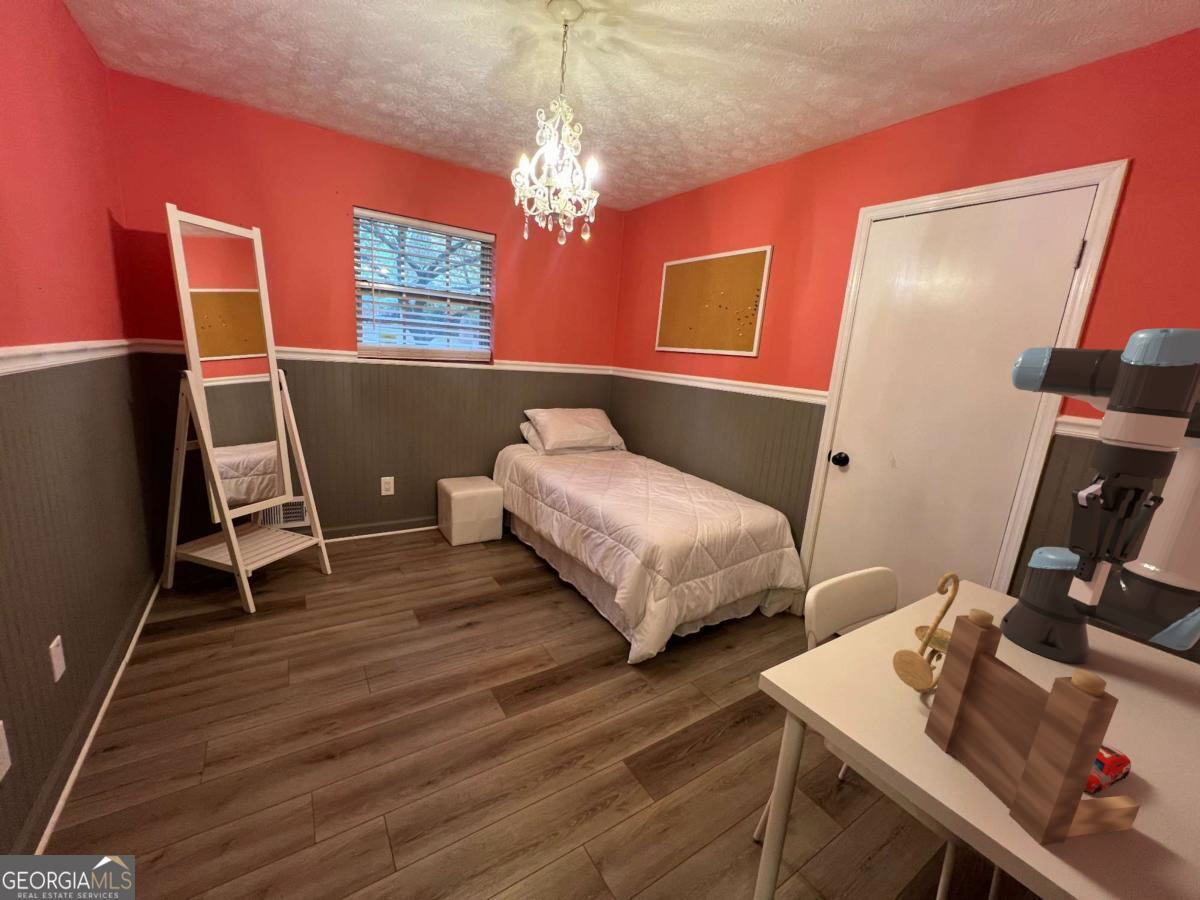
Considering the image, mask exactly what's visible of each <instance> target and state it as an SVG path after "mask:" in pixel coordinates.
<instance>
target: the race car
mask: <svg viewBox="0 0 1200 900" xmlns="http://www.w3.org/2000/svg"><path fill="white" fill-rule="evenodd" d="M1131 762H1132V761H1131V760H1130V758H1129V757H1128V756H1127V755H1126V754H1125V753H1123V752H1121V751H1120V750H1119V749H1117V748H1115V747H1113V746H1111V745H1110V744H1108V743H1106V742H1104V741H1103V742H1102V745H1101V747H1100V750H1099V753H1098V755H1097V758H1096V761H1095V763H1094V766H1093V768H1092V771H1091V774H1090V776H1089V779H1088V782H1087V784H1086V787H1085V790H1084V791H1086V792H1088V793H1091V794H1093V795H1096V794H1097V793H1100V791H1103V790H1106V789H1107V788H1109V787H1111V786H1114V785H1115V784H1117V783H1119V782H1122V781H1123V780H1126V778H1127V777H1128V776H1129V775H1130V772H1131V768H1132V766H1131V765H1132V763H1131Z"/></svg>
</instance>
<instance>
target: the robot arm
mask: <svg viewBox="0 0 1200 900" xmlns="http://www.w3.org/2000/svg"><path fill="white" fill-rule="evenodd" d="M1011 381H1012V384H1013V386H1014V387H1015V389H1018V390H1021V391H1027V392H1028V391H1029V392H1032V393H1046V394H1054V395H1058V396H1061V397H1068V398H1071V399H1075V400H1078V401H1082V402H1086V403H1088V404H1089V405H1090V407H1093V408H1094V409H1095V410H1098V411H1100V412H1103V413H1104V416H1103V417H1102V420H1101V424H1100V428H1099V430H1098V434H1097V437H1098V438H1099V439H1102V441H1097V442H1096V443H1094V444H1093V448H1092V451H1091V454H1090V457H1089V460H1088V466H1090V467H1092V468H1093V469H1096V473H1095V475H1094V477H1092V478H1091V480H1090V482H1089V483H1090V484H1089V487H1087V488H1085V489H1084V490H1083V489H1079V488H1074V489H1073V490H1072V491H1071V498H1072V503H1073V509H1072V516H1071V526H1070V533H1069V534H1070V535H1069V541H1068V548H1067V547H1060V546H1043V547H1037V549H1035V550H1034V551H1033V552H1032V556H1031V558H1030V560H1029V562H1028V563H1027V569H1026V572H1025V576H1024V579H1023V582H1022V586H1021V590H1020V593H1019V597H1018V599H1017V601H1016V603H1015V604H1014V605H1013V606H1012V607H1011V608H1010V609H1009V611H1008V612H1007V613H1005V615H1004V616H1003V617H1002V618H1001V621H1000V624H999V626H998V628H1000V629H1002V630H1003V632H1002V635H1004V636H1005V638H1007V639H1009V640H1010V641H1011V642H1013V643H1014V644H1016V645H1018V646H1020V647H1021V648H1024V649H1025V650H1028V651H1030V652H1032V653H1034V654H1037V655H1039V656H1042V657H1045V658H1048V659H1052V660H1054V661H1059V662H1063V663H1068V664H1084V663H1086V662H1087V660H1088V658H1089V655H1090V651H1091V649H1090V645H1089V644H1090V643H1089V636H1088V630H1087V629H1088V628H1087V624H1088V621H1089V618H1091V619H1093V620H1096V621H1098V622H1101V623H1103V624H1106V625H1109V626H1111V627H1114V628H1117V629H1119V630H1121V631H1124V632H1126V633H1129V634H1132V635H1134V636H1137V637H1139V638H1142V639H1145V640H1147V642H1149V643H1156V644H1158V645H1161V646H1163V647H1167V648H1170V649H1171V650H1172V649H1173V650H1176V651H1186V650H1187V651H1188V649H1191V648H1192V647H1193V646H1194V645H1195V644H1196V643H1197V642H1198V640H1199V639H1200V329H1199V328H1178V327H1177V328H1172V327H1171V328H1167V327H1166V328H1165V327H1164V328H1163V327H1162V328H1161V327H1160V328H1145V329H1140V330H1137V331H1135V332H1133V333H1132V335H1130V337H1129V338H1128V342H1127V343H1126V346H1125V348H1124V349H1119V348H1118V349H1116V348H1113V349H1112V348H1108V349H1101V348H1099V349H1097V348H1074V347H1053V346H1047V347H1028V348H1026V349H1024V350H1023V351H1022V352H1020V354H1019V355H1018V357H1016V359H1015V362H1014V365H1013V368H1012V372H1011ZM1173 449H1177V453H1175V452H1174V451H1172V450H1173ZM1154 479H1155V480H1163V479H1167V480H1166V482H1165V484H1164V487H1163V489H1162V492H1161V495H1160V496H1158V495H1155V494H1154V493H1153V489H1154ZM1151 518H1152V519H1151ZM1150 519H1151V521H1150ZM1149 521H1150V524H1149V527H1148V530H1147V531H1146V534H1145V537H1144V540H1143V543H1142V545H1141V549H1140V550H1139V553H1138V556H1137V558H1136V559H1135V560H1131V561H1128V562H1126V561H1124V560H1127V559H1128V558H1129V557H1130V555H1131V553H1132V551H1133V550H1134V549H1135V546H1136V544H1137V543H1138V541H1139V539H1140V537H1141V536H1142V533H1143V532H1144V530H1145V529H1146V527H1147V525H1148V523H1149ZM1121 559H1124V560H1121ZM1112 564H1114V565H1118V566H1122V567H1121V569H1120V570H1119V569H1116V568H1113V567H1112V566H1113V565H1112Z"/></svg>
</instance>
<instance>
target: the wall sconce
mask: <svg viewBox="0 0 1200 900" xmlns="http://www.w3.org/2000/svg"><path fill="white" fill-rule="evenodd" d="M951 579H952V584H951V585H952V586H951V589H950V592H949V587H947V586H946V584H947V583H948V582H949V580H951ZM959 587H960V578H959V576H958V575H957V573H955V572H947V573H946V574H945V575H943V576H942V577H941V579H940V580H939V581H938V584H937V587H936V591H937V594H939V595H941V596H945V595H946V594H947V593H948V592H949V594H948V597H947V598H946V600H945V602H944V604H943V605H942V607H941V608H940V610H939V612H938V613H937V615H936V616H935V617H934V619H933V621H932V622H931V624H930V625H917V626H916V627H914V629H913V632H914V635H915V637H916V638H917V639H918V640H919V641H920V642H921V644H920V646H919V648H918V651H915V650H912V649H908V648H903V649H902V648H901V649H899V650H898V651H896V652H895V653H894V654H893V657H892V667H893V670H894V672H895V674H896V676H897V677H898V678H899V679H900V681H902V683H904V684H905V685H907V686H908V687H910V688H912V689H913V690H914V691H915V692H916V693H918V694H925V693H929V691H932V690H933V689H934V688H937V685H938V681H939V677H940V674H941V670H942V667H943V665H942V666H941V668H940V670H939V672H938V673H937V675H936V676H935V677H934V674H933V671H935V670H936V669H937V666H936V665H934V664H932V662H933V660H934V659H935V662H936V663H937V662H938V661H941V660H942V658H943V654H944V655H946V652H947V649H948V645H949V642H950V638H951V634H952V632H951V631H950V630H946V629H944V628H941V627H939V625H940V624H941V622H942V620H943V619H944V617H945V616H946V614H947V613H948V611H949V610H950V608H951V607H952V604H953V602H954V601H955V599H956V597H957V595H958V592H959V589H960V588H959ZM928 647H929V648H931V650H930V652H928V654H927V656H926V658H925V657H924V656H925V653H926V651H927V648H928Z"/></svg>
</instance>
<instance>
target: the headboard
mask: <svg viewBox="0 0 1200 900" xmlns="http://www.w3.org/2000/svg"><path fill="white" fill-rule="evenodd" d="M994 617H995V616H994V615H993V614H991V613H990V612H988V611H986V610H983V609H979V608H971V609H970V611H969V614H968V615H967V614H965V615H961V614H960V615H956V617H955V621H954V624H953V627H952V634H951V638H950V642H949V645H948V649H947V652H946V654H945V656H944V661H943V663H942V666H943V667H942V666H941V668H942V670H941V669H940V670H941V674H940V677H939V681H938V685H937V686H936V687H935V688H936V689H935V691H934V692H935V693H934V696H933V699H932V702H931V706H930V710H929V714H928V718H927V721H926V725H925V728H924V734H925V735H926V736H927V737H929V739H930V740H931V741H932V742H934V743H935V744H936V745H937V746H938V747H939V748H940V749H941V750H942V751H943V752H944V753H951V755H953V756H954V757H955V758H956V759H957V760H958V761H959V762H960V763H961V764H962V765H963V766H964V767H965V768H966V769H967V770H968V771H969V772H970V773H972V774H973V775H974V777H975V778H977V779H978V780H979V781H980V782H981V783H982V784H983V785H984V786H985V787H986V788H987V789H988V790H989V791H990V792H991V793H993V795H995V796H996V797H997V799H999V800H1000V801H1001V803H1003V805H1005V806H1006V807H1007V808H1008V809H1009V811H1008V812H1009V813H1008V815H1009V816H1010V817H1011V818H1012V819H1013V820H1014V821H1015V822H1016V823H1017V824H1018V825H1019V826H1020V827H1021V828H1022V829H1023V830H1024V831H1025V832H1026V833H1027V834H1028V835H1030V836H1031V838H1033V840H1035V841H1036V842H1037V844H1039V845H1040V846H1041V845H1048V844H1049V845H1050V844H1058V843H1065V842H1066V839H1067V838H1071V837H1079V836H1087V835H1096V834H1104V833H1112V832H1119V831H1127V830H1128V831H1129V830H1132V827H1133V826H1134V825H1133V824H1134V822H1135V820H1136V818H1137V816H1138V813H1139V810H1140V808H1141V805H1140V804H1139V803H1137V802H1136V801H1135V800H1134V799H1132V798H1131V797H1130V796H1128V795H1120V796H1119V795H1118V796H1109V797H1099V798H1091V799H1090V798H1089V799H1082V797H1083V794H1084V791H1086V790H1085V787H1086V784H1087V782H1088V779H1089V776H1090V774H1091V771H1092V768H1093V766H1094V763H1095V761H1096V758H1097V755H1098V753H1099V750H1100V747H1101V745H1102V742H1104V738H1105V737H1106V733H1107V732H1108V729H1109V726H1110V723H1111V721H1112V718H1113V715H1114V713H1115V710H1116V708H1117V705H1118V702H1119V698H1117V697H1116V696H1114V695H1112V694H1111V693H1109V692H1108V691H1106V690H1105V689H1106V686H1107V681H1106V680H1105V679H1103V678H1102V677H1101V676H1099V675H1096V674H1095V673H1092V672H1090V671H1088V670H1084V669H1075V670H1074V672H1073V674H1072V676H1063V677H1061V676H1060V677H1054V681H1053V684H1052V687H1051V690H1050V692H1049V691H1048V690H1046V689H1045V688H1043V687H1042V686H1040V685H1039V684H1037V683H1036V682H1035V681H1033V680H1031V679H1029V678H1028V677H1027V676H1025V675H1023V674H1022V673H1021V672H1019V671H1018V670H1016V669H1014V668H1013V667H1012V666H1010V665H1008V664H1007V663H1006V662H1004V661H1003V660H1002V659H999V658H998V657H997V656H996V655H997V652H998V648H999V645H1000V643H1001V639H1002V636H1003V633H1002V632H1003V630H1002V629H1000V628H999V626H997V625H995V624H994V623H993V621H994Z"/></svg>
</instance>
